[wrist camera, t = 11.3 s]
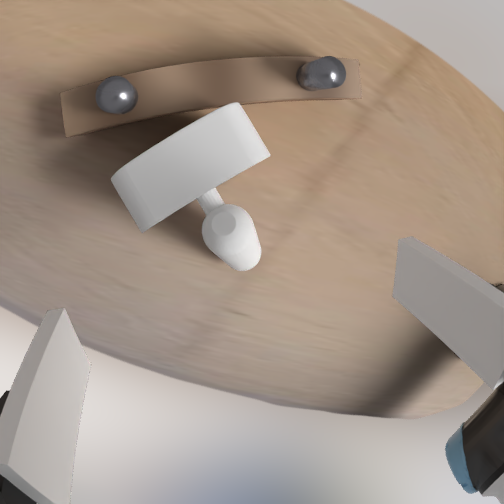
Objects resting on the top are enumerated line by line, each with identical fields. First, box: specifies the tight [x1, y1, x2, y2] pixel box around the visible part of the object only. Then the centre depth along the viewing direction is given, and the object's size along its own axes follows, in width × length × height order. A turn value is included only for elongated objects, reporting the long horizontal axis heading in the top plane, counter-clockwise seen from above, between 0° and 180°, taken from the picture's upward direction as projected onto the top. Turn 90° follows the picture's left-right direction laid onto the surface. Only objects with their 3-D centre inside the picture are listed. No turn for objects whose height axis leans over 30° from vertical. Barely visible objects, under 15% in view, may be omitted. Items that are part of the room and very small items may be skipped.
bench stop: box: [60, 56, 362, 138], centre depth 18 cm, size 20×3×7 cm, turn 95°
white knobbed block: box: [111, 102, 271, 271], centre depth 20 cm, size 8×10×10 cm
